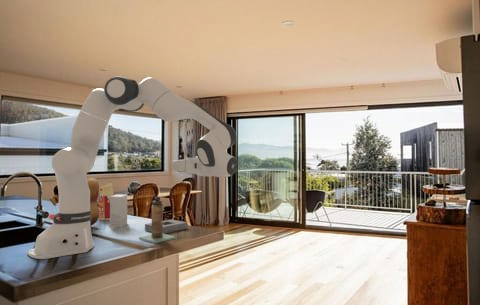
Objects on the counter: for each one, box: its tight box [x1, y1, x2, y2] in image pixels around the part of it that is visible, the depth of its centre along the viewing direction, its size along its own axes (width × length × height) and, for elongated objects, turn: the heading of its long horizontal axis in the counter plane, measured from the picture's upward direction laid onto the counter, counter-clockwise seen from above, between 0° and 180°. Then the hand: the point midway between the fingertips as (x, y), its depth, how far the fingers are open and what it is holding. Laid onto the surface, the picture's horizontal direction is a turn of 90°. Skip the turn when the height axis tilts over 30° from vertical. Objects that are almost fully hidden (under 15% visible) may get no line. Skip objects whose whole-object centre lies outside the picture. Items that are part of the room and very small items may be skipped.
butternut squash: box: [87, 177, 100, 226], centre depth 172 cm, size 14×13×25 cm
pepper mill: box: [151, 196, 164, 238], centre depth 149 cm, size 5×5×18 cm
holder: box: [144, 219, 188, 234], centre depth 168 cm, size 16×12×3 cm
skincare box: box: [109, 193, 128, 228], centre depth 177 cm, size 8×7×16 cm
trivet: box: [138, 233, 176, 244], centre depth 149 cm, size 11×11×1 cm
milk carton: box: [98, 182, 115, 221], centre depth 197 cm, size 9×9×20 cm
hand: (182, 164), depth 151 cm, fingers open, 8 cm apart
